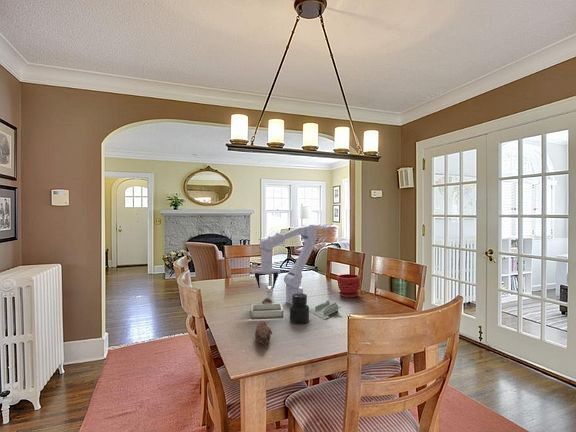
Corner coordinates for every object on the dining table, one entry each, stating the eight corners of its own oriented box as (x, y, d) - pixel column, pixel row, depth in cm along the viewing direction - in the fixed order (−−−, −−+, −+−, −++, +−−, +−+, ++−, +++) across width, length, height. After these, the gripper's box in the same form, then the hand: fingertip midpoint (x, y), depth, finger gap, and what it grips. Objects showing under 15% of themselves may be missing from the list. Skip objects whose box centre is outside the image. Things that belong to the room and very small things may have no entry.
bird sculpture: (269, 327, 138) (269, 316, 138) (274, 353, 113) (274, 339, 113) (254, 328, 137) (254, 316, 137) (256, 354, 112) (256, 340, 112)
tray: (281, 310, 162) (281, 303, 162) (283, 317, 150) (283, 310, 150) (251, 311, 161) (251, 304, 161) (251, 319, 149) (251, 311, 149)
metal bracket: (327, 296, 167) (344, 304, 153) (329, 307, 167) (347, 315, 154) (304, 308, 160) (321, 317, 147) (307, 318, 161) (324, 328, 148)
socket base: (274, 304, 172) (274, 299, 172) (275, 309, 164) (275, 304, 164) (259, 305, 171) (259, 300, 171) (259, 309, 163) (259, 304, 163)
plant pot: (352, 292, 198) (352, 272, 197) (363, 297, 185) (364, 277, 185) (333, 293, 193) (333, 274, 193) (343, 299, 181) (343, 278, 181)
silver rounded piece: (271, 301, 170) (273, 286, 167) (271, 306, 166) (273, 290, 163) (263, 301, 169) (265, 285, 167) (263, 305, 165) (265, 289, 162)
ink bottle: (313, 320, 146) (313, 295, 146) (302, 326, 139) (301, 299, 139) (297, 316, 152) (297, 291, 152) (285, 321, 146) (285, 295, 145)
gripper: (279, 260, 172) (279, 285, 172) (252, 260, 170) (252, 285, 170) (280, 262, 165) (280, 288, 165) (252, 262, 163) (252, 289, 163)
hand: (266, 287), depth 167 cm, fingers open, 7 cm apart
